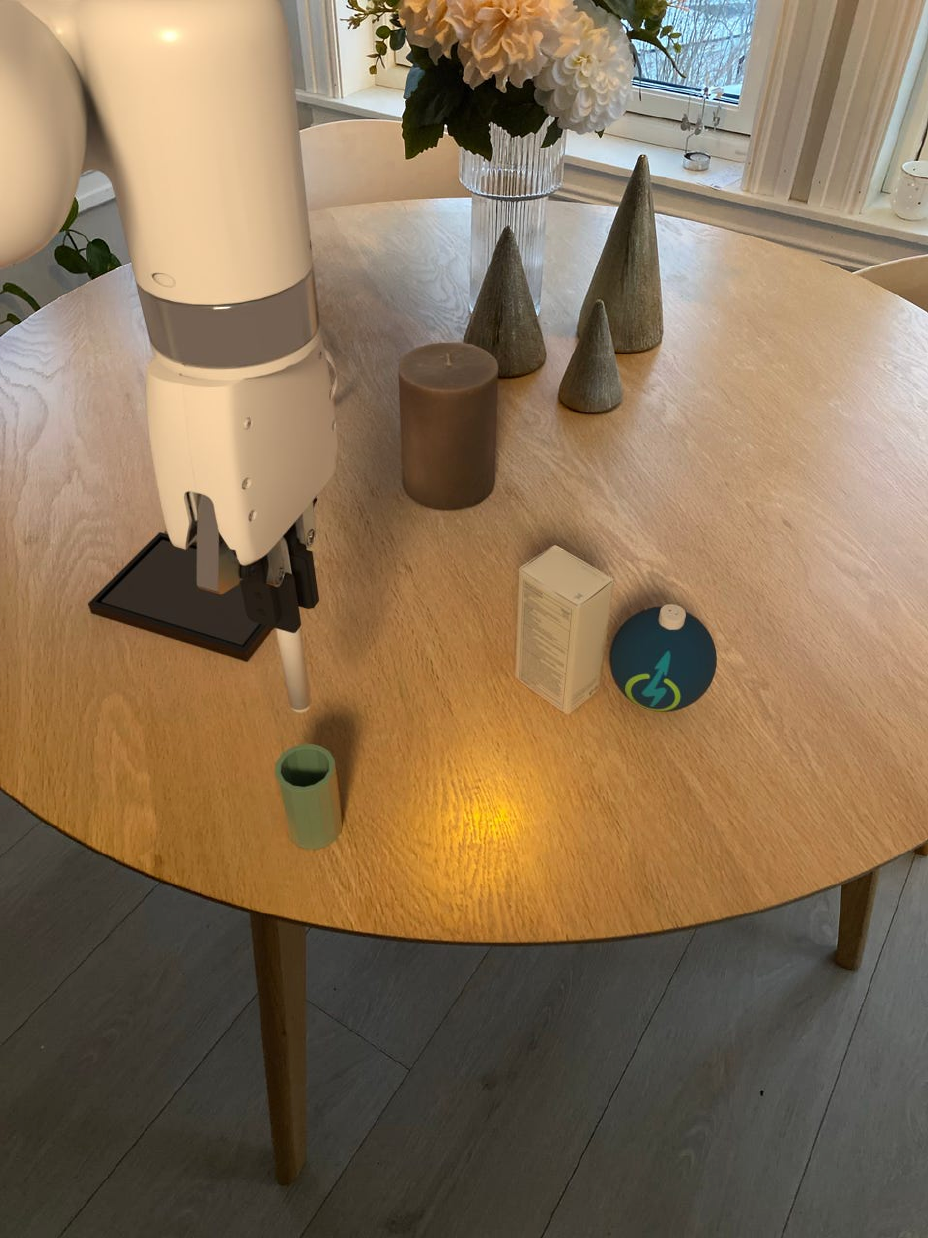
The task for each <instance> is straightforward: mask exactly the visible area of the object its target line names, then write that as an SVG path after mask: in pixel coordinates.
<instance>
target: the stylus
mask: <svg viewBox="0 0 928 1238" xmlns="http://www.w3.org/2000/svg"><path fill="white" fill-rule="evenodd" d="M279 541H280V545H281V550H282V555H283V560H284V565H285V572H287V573H290V574H292V573H291V566H290V560H289V554H288V547H287V542H286V540H285V538H284V537H282V538H281V539H280V540H279ZM301 629H302V628H301V627H300V628H299V629H298V630H297V632H296V633H290V632H287V631H283V630H280V629H277V628H275V634H276V640H277V644H278V645H277V646H278V649H279V650H278V651H279V655H280V660H281V665H282V671H283V677H284V683H285V688H286V693H287V698H288V704H289V708H290V709H291V710H292V711H293V712H295V713H299V714H302V713H305V712H307V711H309V709H310V708H311V706H312V703H313V702H312V694H311V688H310V687H311V686H310V681H309V675H308V668H307V663H306V662H307V661H306V656H305V650H304V643H303V637H302V630H301Z"/></svg>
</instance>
